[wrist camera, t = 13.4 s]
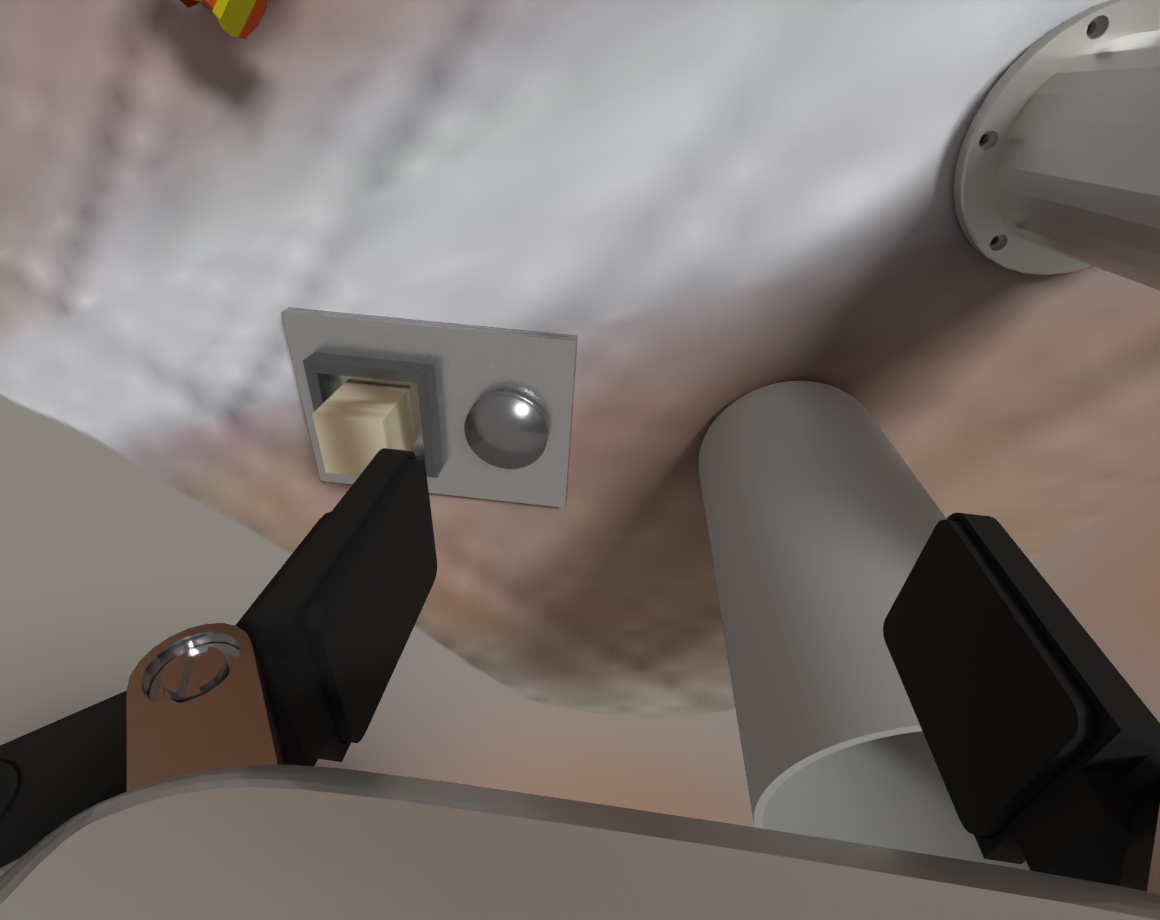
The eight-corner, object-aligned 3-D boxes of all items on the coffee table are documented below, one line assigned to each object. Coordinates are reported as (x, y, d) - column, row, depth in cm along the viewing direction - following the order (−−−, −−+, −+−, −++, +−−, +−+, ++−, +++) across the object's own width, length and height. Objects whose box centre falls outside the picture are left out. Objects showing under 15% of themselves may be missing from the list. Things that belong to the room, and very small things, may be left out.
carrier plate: (577, 335, 37) (573, 349, 35) (566, 500, 45) (562, 519, 43) (288, 307, 38) (268, 319, 36) (326, 474, 46) (311, 491, 44)
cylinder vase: (854, 521, 44) (1049, 907, 23) (692, 518, 45) (737, 882, 24) (893, 374, 37) (1223, 733, 16) (702, 377, 38) (777, 711, 17)
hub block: (409, 386, 40) (382, 421, 35) (415, 441, 42) (391, 479, 38) (346, 380, 40) (312, 413, 36) (356, 435, 42) (325, 472, 38)
